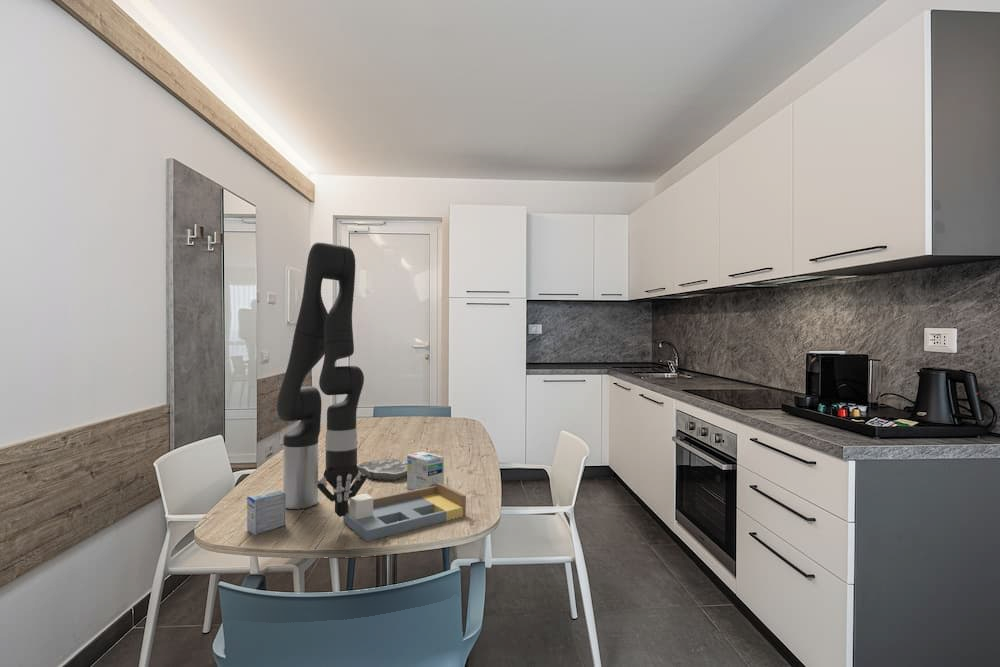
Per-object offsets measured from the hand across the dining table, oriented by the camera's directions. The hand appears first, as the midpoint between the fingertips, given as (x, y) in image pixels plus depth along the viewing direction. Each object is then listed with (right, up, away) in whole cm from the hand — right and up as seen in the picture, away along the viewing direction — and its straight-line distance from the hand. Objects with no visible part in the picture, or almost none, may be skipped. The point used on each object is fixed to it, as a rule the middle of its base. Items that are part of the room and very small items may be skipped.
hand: (341, 515), depth 128 cm
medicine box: (-19, -4, 0) cm, 19 cm away
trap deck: (+15, -4, +7) cm, 17 cm away
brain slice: (+1, -3, +49) cm, 49 cm away
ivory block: (+4, -1, +3) cm, 5 cm away
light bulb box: (+16, -4, +32) cm, 36 cm away
